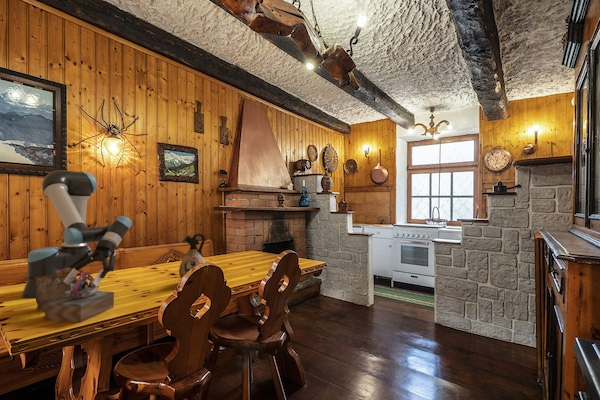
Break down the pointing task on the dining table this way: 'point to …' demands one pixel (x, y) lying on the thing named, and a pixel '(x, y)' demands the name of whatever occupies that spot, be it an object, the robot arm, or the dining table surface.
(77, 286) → the brake caliper
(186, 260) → the ceramic jug
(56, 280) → the mineral sample
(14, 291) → the dining table surface
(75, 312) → the wooden block
